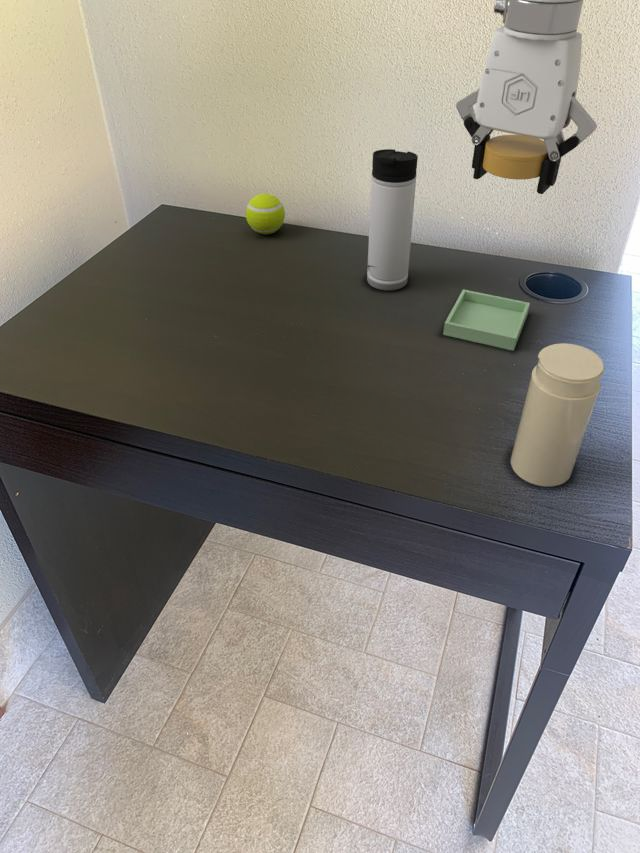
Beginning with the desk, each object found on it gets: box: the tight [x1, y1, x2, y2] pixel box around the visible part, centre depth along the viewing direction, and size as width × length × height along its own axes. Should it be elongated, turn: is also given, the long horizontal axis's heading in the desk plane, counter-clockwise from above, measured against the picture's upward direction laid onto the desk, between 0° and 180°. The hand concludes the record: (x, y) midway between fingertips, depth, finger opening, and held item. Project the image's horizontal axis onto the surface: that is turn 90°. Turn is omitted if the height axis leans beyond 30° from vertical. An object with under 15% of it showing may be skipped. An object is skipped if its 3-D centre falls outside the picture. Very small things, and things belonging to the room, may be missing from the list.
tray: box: [442, 289, 531, 352], centre depth 96 cm, size 10×10×2 cm
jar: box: [510, 342, 605, 488], centre depth 71 cm, size 7×7×14 cm
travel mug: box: [366, 148, 419, 292], centre depth 99 cm, size 6×7×20 cm
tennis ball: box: [245, 193, 286, 235], centre depth 117 cm, size 7×7×7 cm
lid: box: [483, 134, 548, 180], centre depth 81 cm, size 8×8×3 cm
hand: (511, 181), depth 83 cm, fingers closed on lid, 7 cm apart
